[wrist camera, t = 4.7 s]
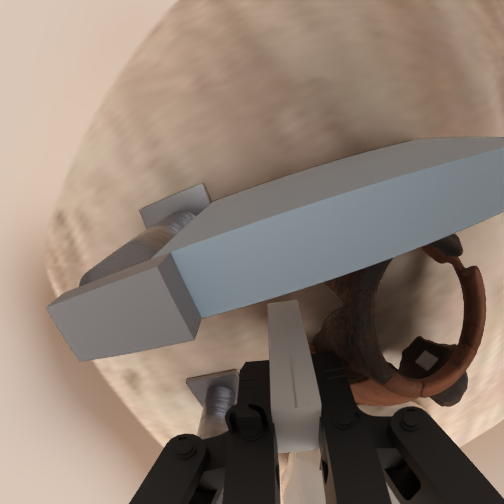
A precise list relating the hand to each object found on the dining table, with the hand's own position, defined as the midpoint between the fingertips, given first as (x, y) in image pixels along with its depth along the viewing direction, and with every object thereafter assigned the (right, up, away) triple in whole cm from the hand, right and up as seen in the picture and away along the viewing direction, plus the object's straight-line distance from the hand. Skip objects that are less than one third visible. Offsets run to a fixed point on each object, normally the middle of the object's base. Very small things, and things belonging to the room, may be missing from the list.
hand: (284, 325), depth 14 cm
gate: (+1, +7, -1) cm, 7 cm away
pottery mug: (+6, 0, +2) cm, 6 cm away
